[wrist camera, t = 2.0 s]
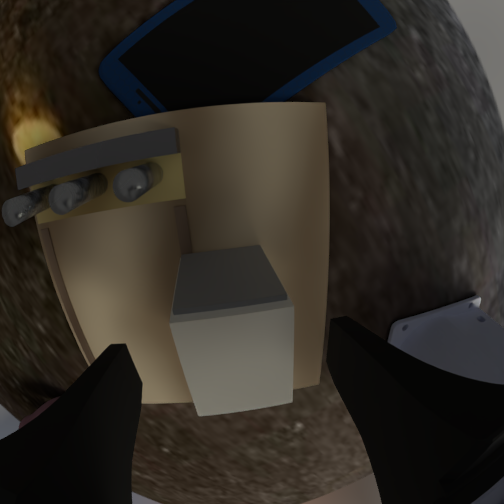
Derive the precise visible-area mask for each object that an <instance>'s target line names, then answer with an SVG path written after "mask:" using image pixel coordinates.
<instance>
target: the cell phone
mask: <svg viewBox="0 0 504 504" xmlns="http://www.w3.org/2000/svg"><path fill="white" fill-rule="evenodd" d="M396 28H397V27H396V22H395V20H394V19H393V17H392V16H391V15H390V13H389V12H388V10H387V9H386V8H385V7H384V6H383V4H382V3H381V2H380V1H379V0H175V1H174V2H172V3H171V4H169V5H168V6H167V7H165V8H164V9H162V10H161V11H159V12H158V13H157V14H155V15H154V16H153V17H151V18H150V19H149V20H147V21H146V22H145V23H143V24H142V25H141V26H140V27H138V28H137V29H136V30H135V31H133V32H132V33H131V34H130V35H129V36H127V37H126V38H125V39H124V40H123V41H122V42H121V43H119V44H118V45H117V46H116V47H115V48H114V49H113V50H112V51H111V52H110V53H109V54H108V55H107V56H106V57H105V58H104V59H103V61H102V62H101V64H100V67H99V76H100V78H101V79H102V80H103V82H104V83H105V84H106V86H107V87H108V88H109V89H110V90H111V91H112V92H113V94H114V95H115V96H116V97H117V98H118V99H119V100H120V101H121V102H122V103H123V104H124V105H125V106H126V107H127V108H128V109H129V111H130V112H131V113H132V114H133V115H134V116H135V117H136V118H137V117H142V116H147V115H153V114H158V113H164V112H170V111H177V110H184V109H191V108H199V107H208V106H218V105H229V104H244V103H265V102H285V101H287V100H288V99H289V98H291V97H292V96H294V95H295V94H296V93H298V92H299V91H301V90H302V89H303V88H305V87H306V86H308V85H309V84H310V83H312V82H313V81H315V80H316V79H318V78H319V77H321V76H322V75H324V74H325V73H327V72H328V71H330V70H331V69H333V68H334V67H336V66H337V65H339V64H340V63H342V62H344V61H345V60H347V59H348V58H350V57H352V56H353V55H355V54H356V53H358V52H360V51H361V50H363V49H365V48H366V47H368V46H370V45H372V44H373V43H375V42H377V41H378V40H380V39H382V38H384V37H386V36H387V35H389V34H390V33H391V32H393V31H394V30H395V29H396Z"/></svg>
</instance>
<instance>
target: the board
mask: <svg viewBox="0 0 504 504" xmlns="http://www.w3.org/2000/svg"><path fill="white" fill-rule="evenodd" d="M172 127H175V128H177V129H179V139H180V150H181V153H177V154H170V155H164V156H158V157H152V158H146V159H140V160H135V161H129V162H124V163H119V164H114V165H110V166H105V167H101V168H96V169H92V170H88V171H84V172H80V173H76V174H72V175H68V176H64V177H60V178H57V179H53V180H50V181H46V182H43V183H40V184H36V185H33V186H30V187H29V189H30V191H33V190H36V189H39V188H42V187H45V186H48V185H51V184H55V185H59V184H62V183H65V182H68V181H71V180H74V179H78V178H81V177H84V176H88V175H91V174H95V173H101V174H103V175H104V176H105V177H106V178H107V181H108V187H107V190H106V192H105V193H104V194H102V195H100V196H98V197H96V198H95V199H93V200H91V201H89V202H87V203H85V204H83V205H81V206H79V207H77V208H75V209H74V210H72V211H70V212H68V213H66V214H64V215H58V214H56V213H54V212H53V211H52V209H51V208H49V209H47V210H45V211H43V212H40V213H38V214H37V215H35V220H36V224H37V228H38V233H39V237H40V240H41V244H42V248H43V251H44V255H45V258H46V262H47V265H48V268H49V271H50V275H51V278H52V281H53V284H54V286H55V289H56V292H57V295H58V298H59V300H60V303H61V305H62V308H63V311H64V313H65V316H66V318H67V320H68V323H69V325H70V327H71V330H72V332H73V334H74V337H75V339H76V341H77V343H78V345H79V347H80V349H81V352H82V354H83V356H84V358H85V360H86V362H87V364H88V366H90V365H91V364H92V363H93V362H94V361H95V360H96V359H97V357H98V356H99V355H100V354H101V353H102V352H103V351H104V350H105V349H106V348H107V347H108V346H109V345H110V344H121V343H126V345H127V348H128V350H129V352H130V355H131V357H132V360H133V362H134V364H135V367H136V369H137V371H138V374H139V376H140V378H141V380H142V383H143V387H142V403H183V402H193V399H192V396H191V393H190V390H189V387H188V384H187V381H186V378H185V375H184V372H183V369H182V366H181V362H180V359H179V356H178V352H177V349H176V346H175V342H174V339H173V335H172V332H171V328H170V324H169V321H170V315H171V308H172V302H173V296H174V290H175V285H176V279H177V273H178V268H179V263H180V258H181V255H183V254H191V253H199V252H207V251H215V250H222V249H230V248H238V247H246V246H254V245H260V246H261V247H262V249H263V251H264V253H265V254H266V256H267V258H268V260H269V261H270V263H271V265H272V267H273V269H274V270H275V272H276V274H277V276H278V278H279V279H280V281H281V283H282V285H283V287H284V289H285V290H286V292H287V294H288V296H289V298H290V299H291V301H292V303H293V305H294V367H293V389H298V388H303V387H308V386H313V385H318V384H319V381H320V373H321V364H322V354H323V344H324V332H325V320H326V306H327V289H328V268H329V231H330V190H329V154H328V133H327V117H326V103H317V102H265V103H244V104H229V105H218V106H208V107H199V108H191V109H184V110H177V111H170V112H164V113H158V114H153V115H147V116H142V117H137V118H132V119H128V120H123V121H119V122H114V123H110V124H106V125H102V126H98V127H95V128H91V129H87V130H84V131H80V132H77V133H74V134H70V135H67V136H64V137H61V138H58V139H55V140H52V141H49V142H46V143H43V144H41V145H38V146H35V147H33V148H30V149H27V150H25V160H26V164H29V163H31V162H34V161H37V160H40V159H43V158H46V157H49V156H52V155H55V154H58V153H62V152H65V151H68V150H72V149H75V148H79V147H82V146H86V145H90V144H94V143H98V142H102V141H106V140H110V139H114V138H119V137H123V136H128V135H133V134H138V133H143V132H148V131H154V130H160V129H166V128H172ZM150 162H154V163H157V164H159V165H160V166H161V168H162V170H163V178H162V180H161V182H160V183H159V184H157V185H156V186H155V187H153V188H152V189H150V190H149V191H148V192H146V193H145V194H143V195H142V196H141V197H139V198H138V199H137V200H135V201H133V202H123V201H121V200H119V199H118V198H117V197H116V196H115V194H114V192H113V180H114V178H115V176H116V175H117V174H118V173H119V172H120V171H122V170H125V169H128V168H132V167H135V166H139V165H142V164H146V163H150Z"/></svg>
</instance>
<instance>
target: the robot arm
mask: <svg viewBox="0 0 504 504" xmlns="http://www.w3.org/2000/svg"><path fill="white" fill-rule="evenodd" d="M480 302H481V297H479V296H478V295H476V296H473V297H471V298H468V299H465V300H462V301H459V302H456V303H453V304H450V305H447V306H444V307H441V308H438V309H435V310H432V311H429V312H425V313H422V314H419V315H415V316H412V317H408V318H405V319H401V320H398V321H396V322H394V323H393V325H392V326H391V329H390V333H389V338H388V342H387V341H385V340H384V339H382V338H380V337H379V336H377V335H376V334H374V333H372V332H371V331H369V330H368V329H366V328H365V327H363V326H362V325H360V324H359V323H357V322H355V321H354V320H352V319H351V318H349V317H347V316H343V317H338V318H333V319H331V320H330V331H329V340H328V350H327V358H326V362H327V365H328V368H329V371H330V374H331V376H332V379H333V382H334V384H335V386H336V388H337V390H338V392H339V394H340V396H341V398H342V400H343V402H344V404H345V405H346V407H347V409H348V411H349V413H350V415H351V417H352V419H353V421H354V423H355V425H356V427H357V428H358V431H359V433H360V435H361V437H362V440H363V442H364V445H365V448H366V451H367V454H368V456H369V459H370V462H371V466H372V469H373V472H374V475H375V478H376V482H377V486H378V489H379V493H380V497H381V502H382V504H504V328H503V327H502V326H501V325H499V324H498V323H497V322H496V321H495V320H493V319H492V318H491V317H490V316H489V315H487V314H486V313H485V312H484V311H482V310H481V309H480V308H479V305H480ZM142 387H143V383H142V380H141V378H140V376H139V374H138V371H137V369H136V367H135V364H134V362H133V360H132V357H131V355H130V352H129V350H128V348H127V345H126V343H121V344H110V345H109V346H108V347H107V348H106V349H105V350H104V351H103V352H102V353H101V354H100V355H99V356H98V357H97V359H96V360H95V361H94V362H93V363H92V364H91V365H90V366H89V367H88V368H87V369H86V370H85V371H84V373H83V374H82V375H81V376H80V377H79V378H78V379H77V380H76V381H75V382H74V383H73V384H72V385H71V386H70V387H69V388H68V389H67V390H66V391H65V392H64V393H63V394H62V395H61V396H60V397H59V398H58V399H57V400H56V401H55V402H54V403H53V404H51V405H50V406H49V407H48V408H47V409H46V410H44V411H43V412H42V413H41V414H40V415H38V416H37V417H36V418H34V419H33V420H31V421H30V422H29V423H27V424H26V425H24V426H23V427H21V428H20V429H18V430H17V431H16V432H14V433H12V434H10V435H8V436H7V437H5V438H3V439H1V440H0V504H132V491H131V469H132V457H133V451H134V445H135V439H136V433H137V428H138V422H139V417H140V411H141V404H142Z"/></svg>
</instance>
